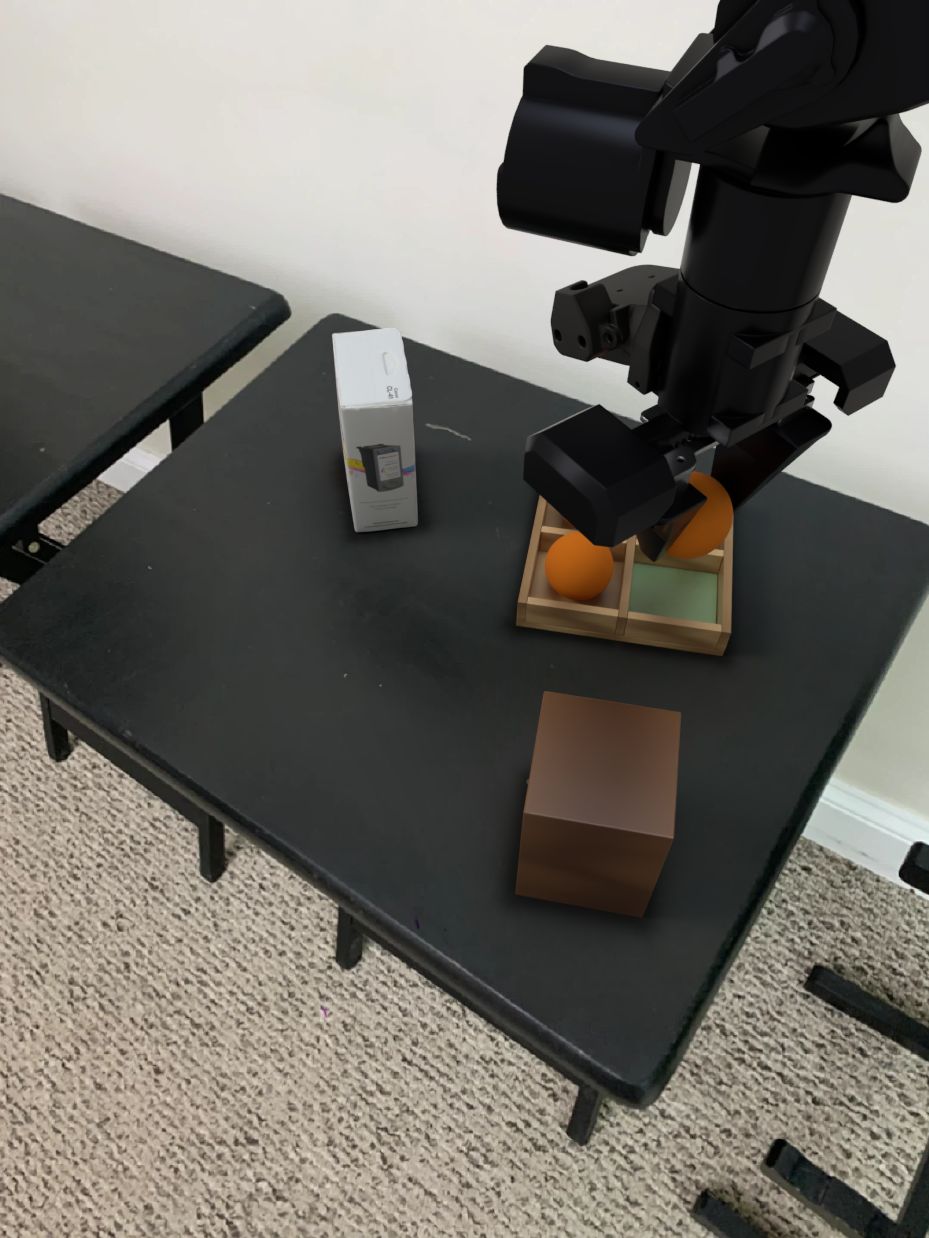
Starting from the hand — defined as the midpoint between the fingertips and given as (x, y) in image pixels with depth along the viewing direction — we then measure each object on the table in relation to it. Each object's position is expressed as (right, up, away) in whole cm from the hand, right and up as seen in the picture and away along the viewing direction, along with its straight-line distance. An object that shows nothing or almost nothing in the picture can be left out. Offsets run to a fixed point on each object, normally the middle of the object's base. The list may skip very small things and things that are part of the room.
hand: (682, 536), depth 50 cm
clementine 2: (0, 0, 0) cm, 1 cm away
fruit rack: (0, -1, +16) cm, 16 cm away
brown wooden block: (-5, -18, +3) cm, 18 cm away
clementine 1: (-4, -2, +14) cm, 15 cm away
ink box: (-18, +5, +21) cm, 28 cm away
